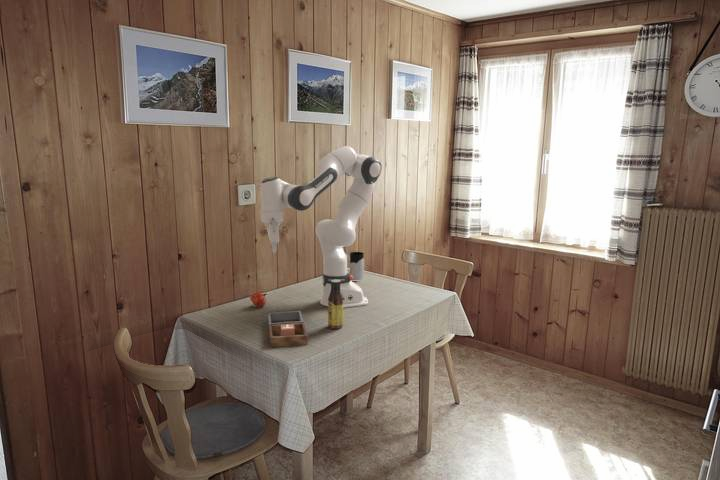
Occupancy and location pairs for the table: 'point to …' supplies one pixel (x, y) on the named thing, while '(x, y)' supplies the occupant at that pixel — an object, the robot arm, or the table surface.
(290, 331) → the letter cube
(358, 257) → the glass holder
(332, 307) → the sauce bottle
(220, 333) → the table surface
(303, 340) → the walnut box
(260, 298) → the pomegranate
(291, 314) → the grey box
